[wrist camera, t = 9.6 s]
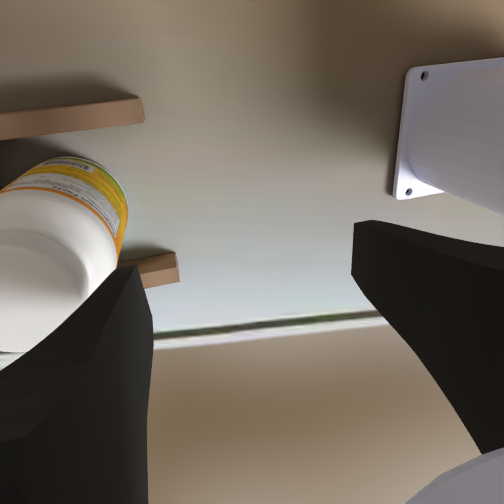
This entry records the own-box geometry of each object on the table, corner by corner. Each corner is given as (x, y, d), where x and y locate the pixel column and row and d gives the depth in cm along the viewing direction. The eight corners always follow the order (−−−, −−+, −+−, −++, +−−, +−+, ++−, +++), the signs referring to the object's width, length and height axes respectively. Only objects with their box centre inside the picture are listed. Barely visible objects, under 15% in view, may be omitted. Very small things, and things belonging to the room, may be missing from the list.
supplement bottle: (77, 263, 20) (18, 394, 12) (-3, 194, 18) (-151, 298, 9) (149, 212, 20) (140, 309, 12) (78, 133, 17) (1, 185, 9)
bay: (140, 97, 17) (137, 99, 15) (178, 265, 22) (179, 281, 20) (-58, 119, 16) (-85, 124, 14) (29, 294, 20) (16, 314, 19)
